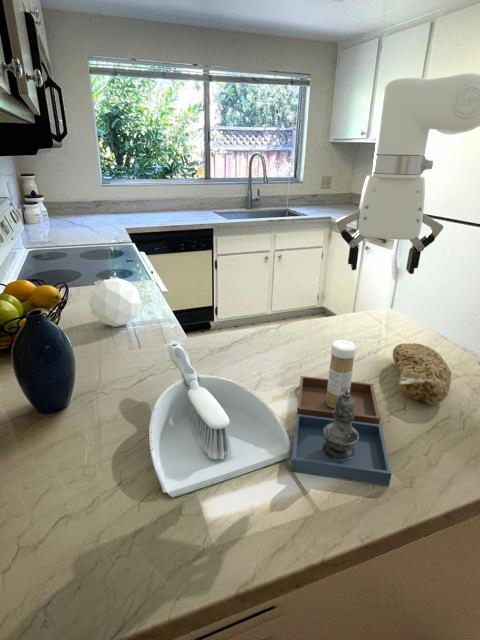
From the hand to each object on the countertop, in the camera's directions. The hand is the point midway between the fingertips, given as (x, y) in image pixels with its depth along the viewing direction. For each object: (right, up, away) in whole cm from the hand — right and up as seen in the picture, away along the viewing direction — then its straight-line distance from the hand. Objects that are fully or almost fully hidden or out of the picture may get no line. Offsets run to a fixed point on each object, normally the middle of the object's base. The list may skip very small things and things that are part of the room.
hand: (381, 270), depth 72 cm
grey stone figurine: (-8, -31, -3) cm, 33 cm away
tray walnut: (-6, -26, +10) cm, 29 cm away
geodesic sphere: (-61, -10, +47) cm, 78 cm away
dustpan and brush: (-33, -28, +6) cm, 44 cm away
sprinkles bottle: (-6, -26, +10) cm, 28 cm away
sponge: (+15, -23, +19) cm, 33 cm away
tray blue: (-8, -32, -3) cm, 33 cm away
